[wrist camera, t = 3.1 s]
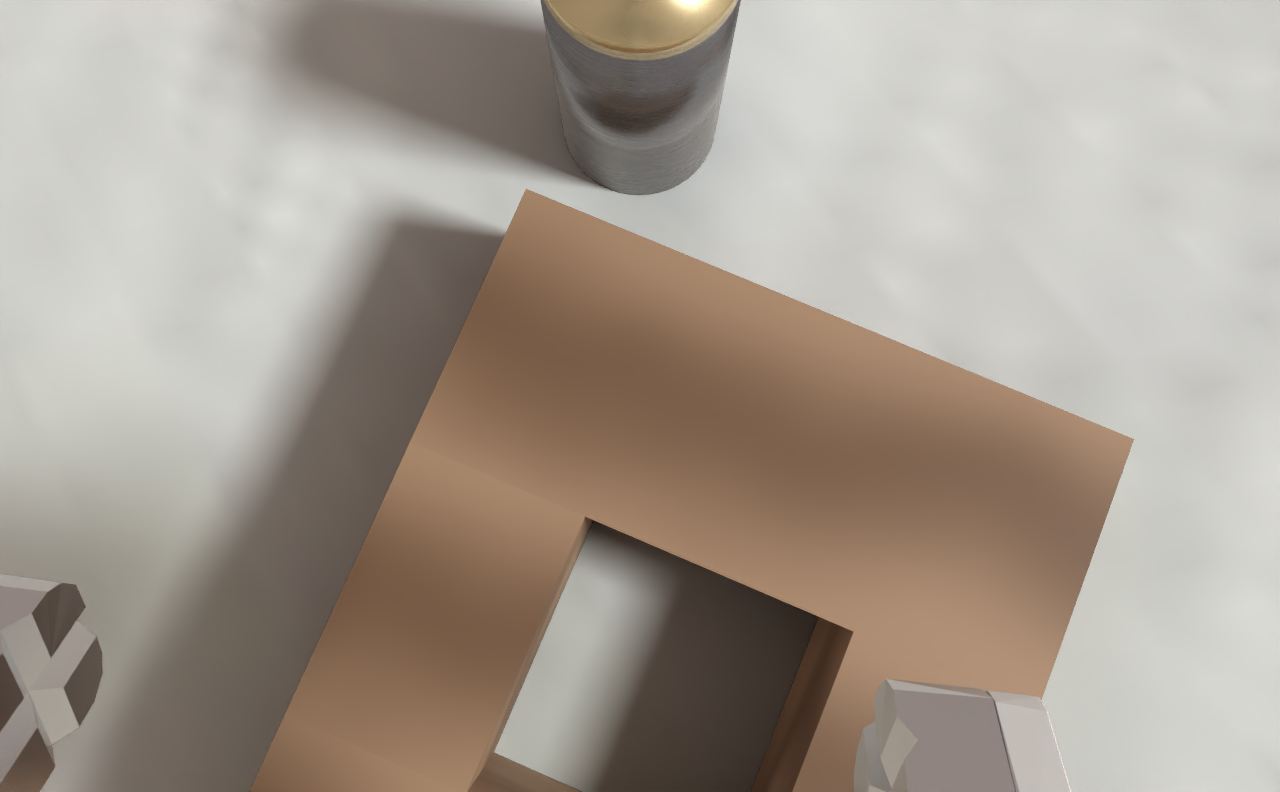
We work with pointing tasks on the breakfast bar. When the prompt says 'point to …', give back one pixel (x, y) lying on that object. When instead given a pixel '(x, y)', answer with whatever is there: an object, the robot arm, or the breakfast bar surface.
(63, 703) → the robot arm
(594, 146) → the key peg
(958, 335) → the breakfast bar surface
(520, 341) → the chuck block
